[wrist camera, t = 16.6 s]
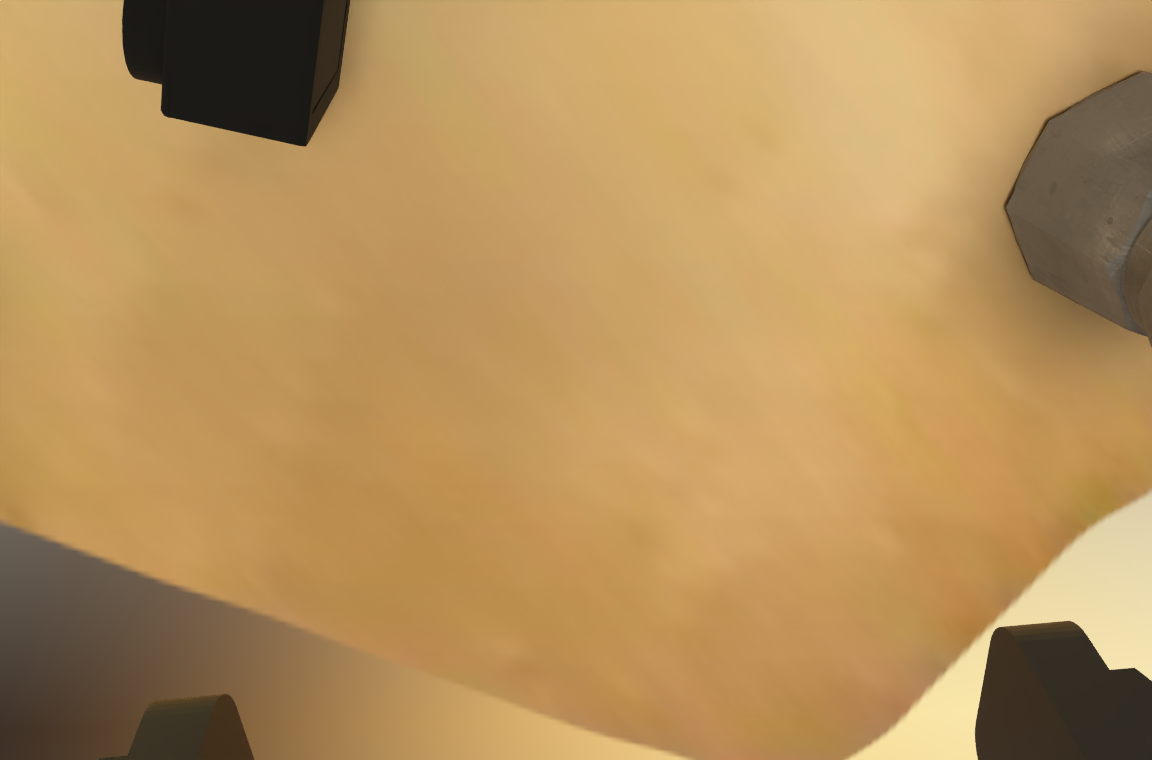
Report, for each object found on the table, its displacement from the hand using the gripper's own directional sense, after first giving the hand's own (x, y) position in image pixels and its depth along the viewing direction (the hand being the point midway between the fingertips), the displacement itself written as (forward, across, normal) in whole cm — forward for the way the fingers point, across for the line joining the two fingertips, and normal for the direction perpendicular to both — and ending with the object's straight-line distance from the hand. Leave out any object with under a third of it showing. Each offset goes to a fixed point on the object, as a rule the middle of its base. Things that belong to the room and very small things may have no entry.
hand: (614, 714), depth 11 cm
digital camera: (+30, +8, -5) cm, 32 cm away
